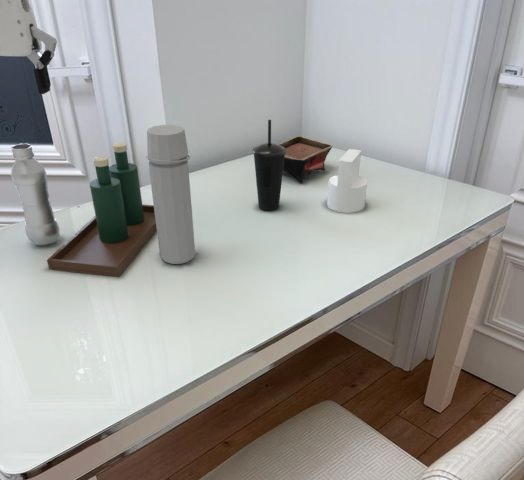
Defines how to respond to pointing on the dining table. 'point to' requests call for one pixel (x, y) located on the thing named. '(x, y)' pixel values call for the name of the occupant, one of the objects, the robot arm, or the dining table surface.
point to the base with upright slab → (347, 185)
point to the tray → (103, 248)
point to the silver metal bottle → (34, 196)
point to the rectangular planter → (304, 156)
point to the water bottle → (171, 192)
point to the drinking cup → (269, 172)
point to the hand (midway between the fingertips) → (18, 91)
